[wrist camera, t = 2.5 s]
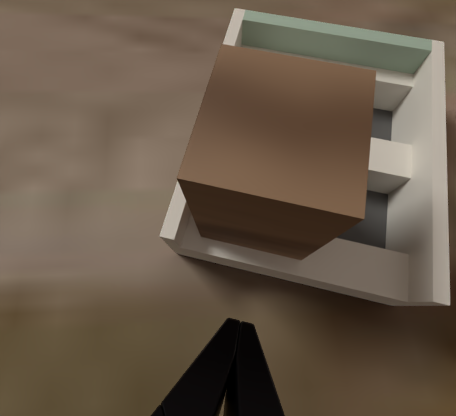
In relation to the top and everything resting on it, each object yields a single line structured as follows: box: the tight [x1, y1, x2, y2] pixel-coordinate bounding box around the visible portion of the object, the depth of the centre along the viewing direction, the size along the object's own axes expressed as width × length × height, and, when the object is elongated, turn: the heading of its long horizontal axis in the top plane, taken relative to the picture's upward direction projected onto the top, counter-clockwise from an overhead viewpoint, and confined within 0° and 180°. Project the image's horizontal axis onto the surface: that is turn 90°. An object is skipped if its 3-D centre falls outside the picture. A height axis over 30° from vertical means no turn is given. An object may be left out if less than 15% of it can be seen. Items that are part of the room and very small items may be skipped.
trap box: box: [160, 8, 450, 306], centre depth 19 cm, size 17×15×5 cm
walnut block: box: [177, 44, 376, 260], centre depth 14 cm, size 6×6×8 cm
